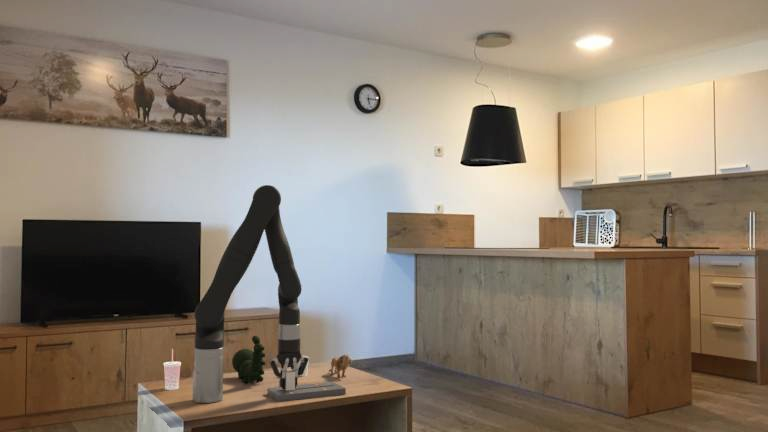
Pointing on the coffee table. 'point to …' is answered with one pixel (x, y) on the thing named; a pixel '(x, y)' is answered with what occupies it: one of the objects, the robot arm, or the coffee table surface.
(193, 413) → the coffee table surface
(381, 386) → the coffee table surface
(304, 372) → the white cup
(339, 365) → the lion figurine
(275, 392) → the console
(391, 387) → the coffee table surface
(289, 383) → the cylinder
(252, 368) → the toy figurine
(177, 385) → the beverage cup
